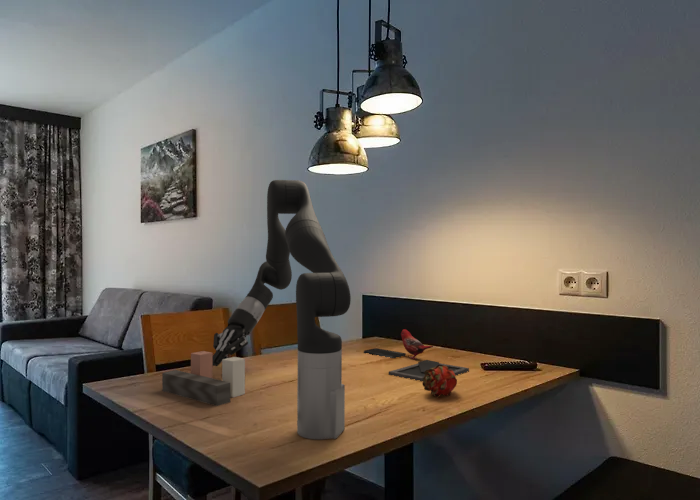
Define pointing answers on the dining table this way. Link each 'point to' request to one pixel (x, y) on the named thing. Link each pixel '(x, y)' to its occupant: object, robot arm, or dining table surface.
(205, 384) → the switch board
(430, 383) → the dragon fruit
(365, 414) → the dining table surface
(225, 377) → the cream key
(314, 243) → the robot arm
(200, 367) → the brick key
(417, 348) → the decorative bird figurine
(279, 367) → the dining table surface
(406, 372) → the picture frame
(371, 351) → the phone
